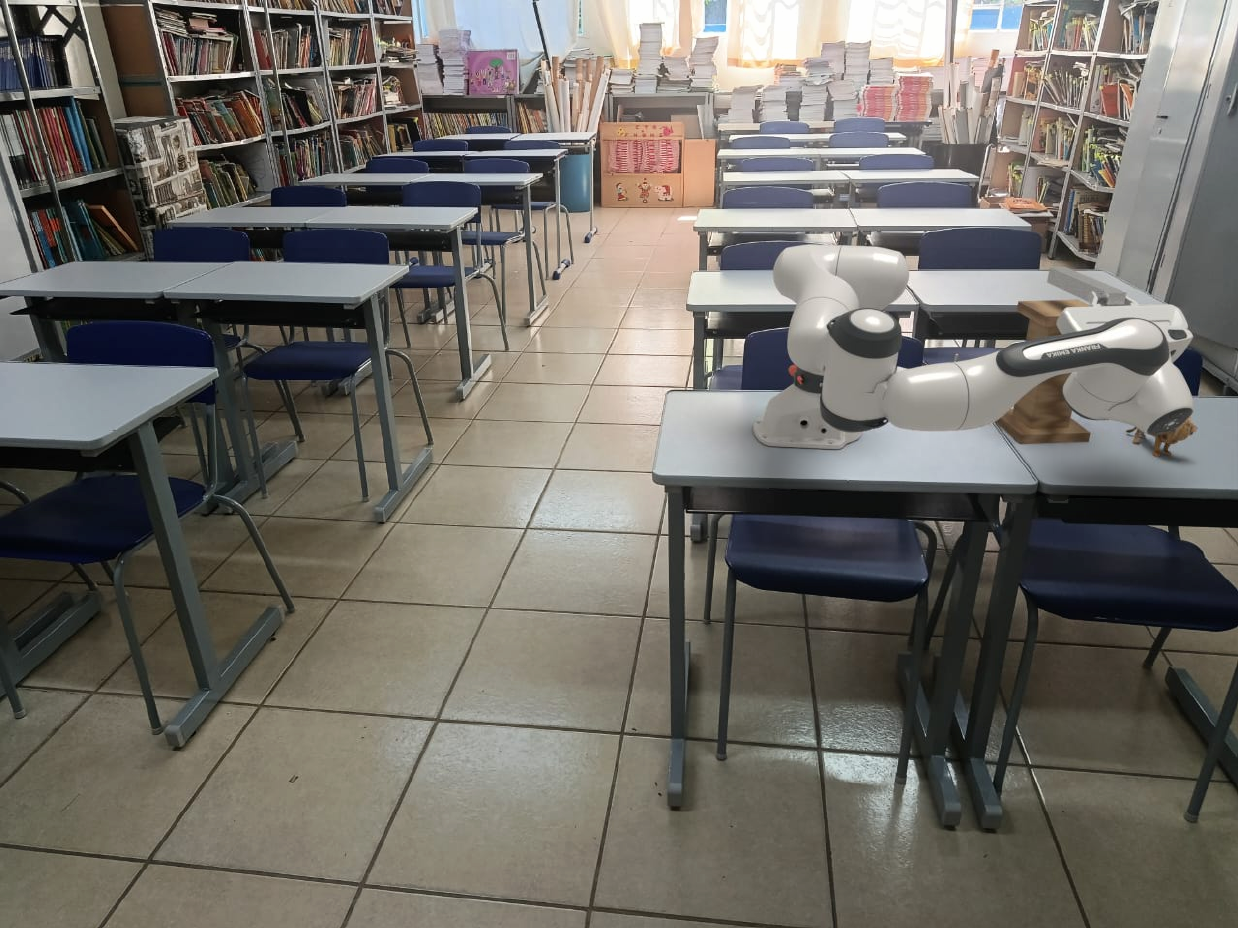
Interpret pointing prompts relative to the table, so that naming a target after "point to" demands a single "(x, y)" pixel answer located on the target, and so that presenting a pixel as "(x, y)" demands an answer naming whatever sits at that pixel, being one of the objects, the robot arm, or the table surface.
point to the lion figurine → (1167, 436)
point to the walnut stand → (1044, 387)
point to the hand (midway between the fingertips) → (1105, 293)
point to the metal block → (1084, 286)
